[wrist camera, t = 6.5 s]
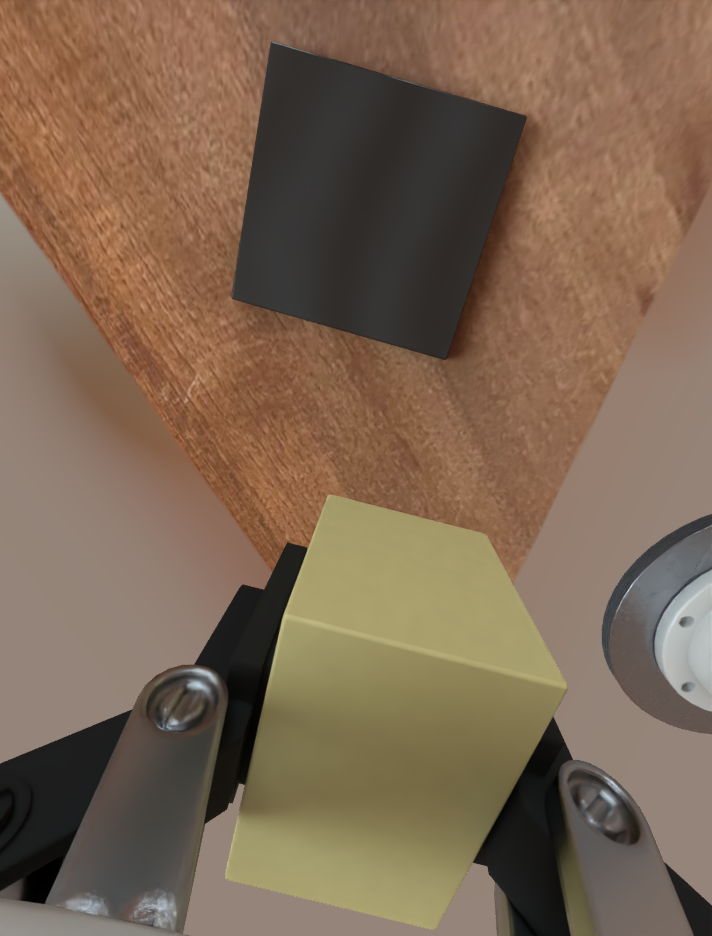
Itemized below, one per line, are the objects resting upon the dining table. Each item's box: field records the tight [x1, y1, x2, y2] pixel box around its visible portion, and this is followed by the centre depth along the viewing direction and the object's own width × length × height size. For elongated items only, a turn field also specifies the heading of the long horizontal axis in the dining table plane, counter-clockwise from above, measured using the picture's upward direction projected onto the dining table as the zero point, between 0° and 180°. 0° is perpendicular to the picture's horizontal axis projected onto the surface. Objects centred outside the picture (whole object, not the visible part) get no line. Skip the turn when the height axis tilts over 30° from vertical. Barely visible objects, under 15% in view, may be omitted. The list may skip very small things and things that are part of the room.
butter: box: [225, 494, 568, 930], centre depth 8 cm, size 4×6×4 cm, turn 166°
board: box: [232, 42, 527, 360], centre depth 19 cm, size 12×11×1 cm
